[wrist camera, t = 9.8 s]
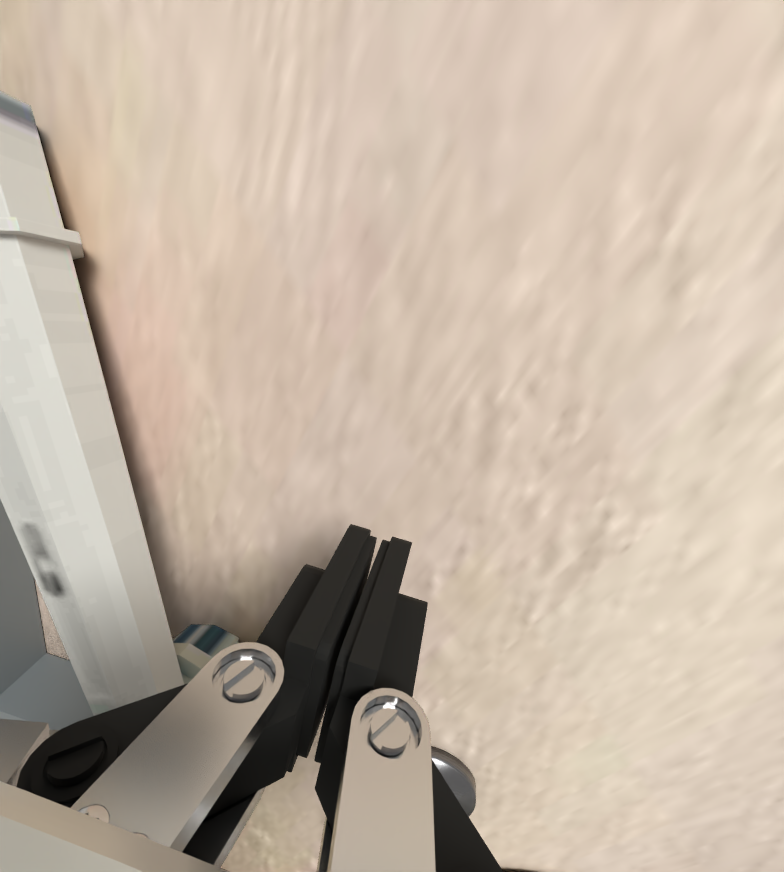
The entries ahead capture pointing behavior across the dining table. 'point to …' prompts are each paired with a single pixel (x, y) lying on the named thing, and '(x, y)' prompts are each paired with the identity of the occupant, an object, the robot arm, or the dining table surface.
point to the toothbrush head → (73, 453)
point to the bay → (30, 649)
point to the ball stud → (456, 778)
